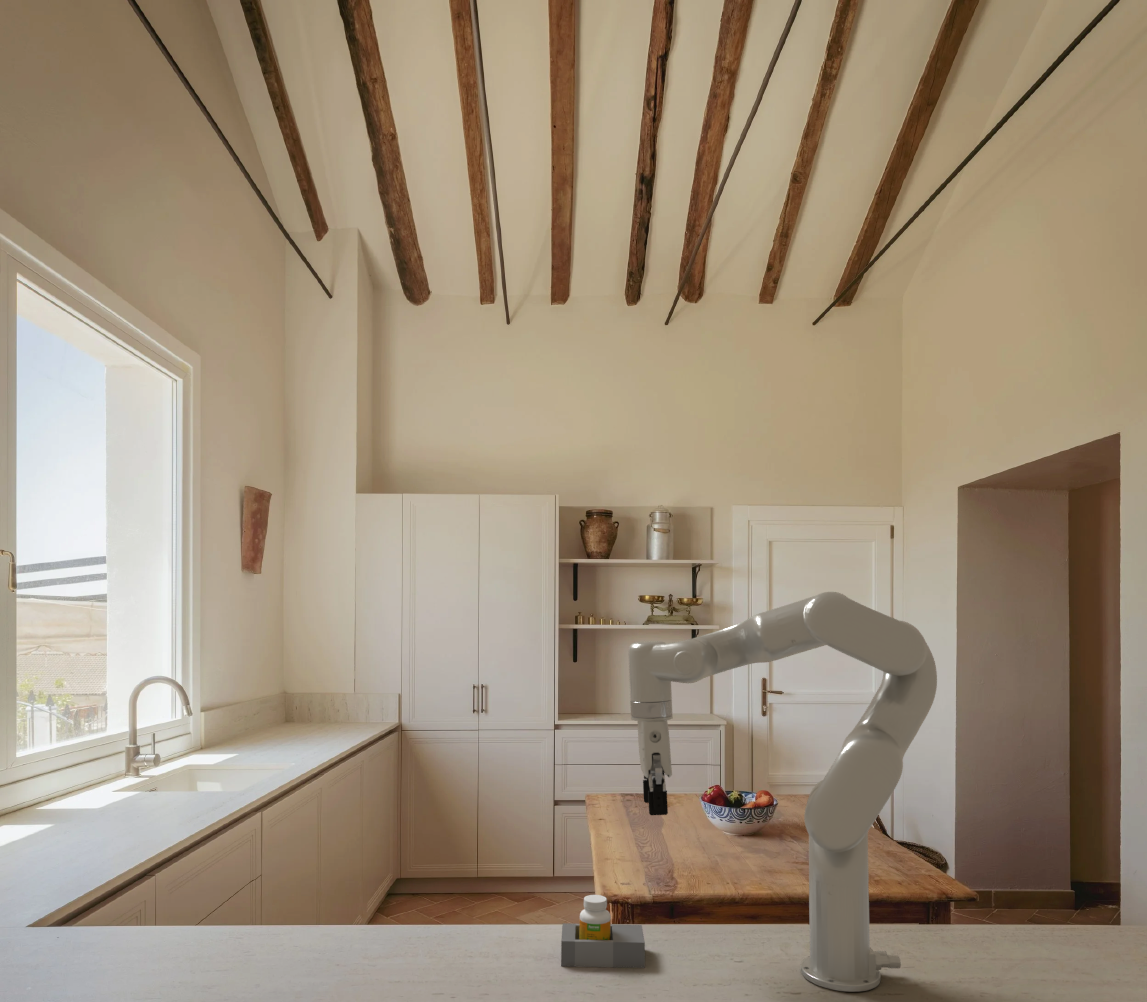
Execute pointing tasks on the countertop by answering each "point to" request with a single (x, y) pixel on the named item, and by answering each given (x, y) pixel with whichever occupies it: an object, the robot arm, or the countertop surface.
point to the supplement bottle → (595, 919)
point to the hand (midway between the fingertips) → (655, 808)
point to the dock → (604, 948)
